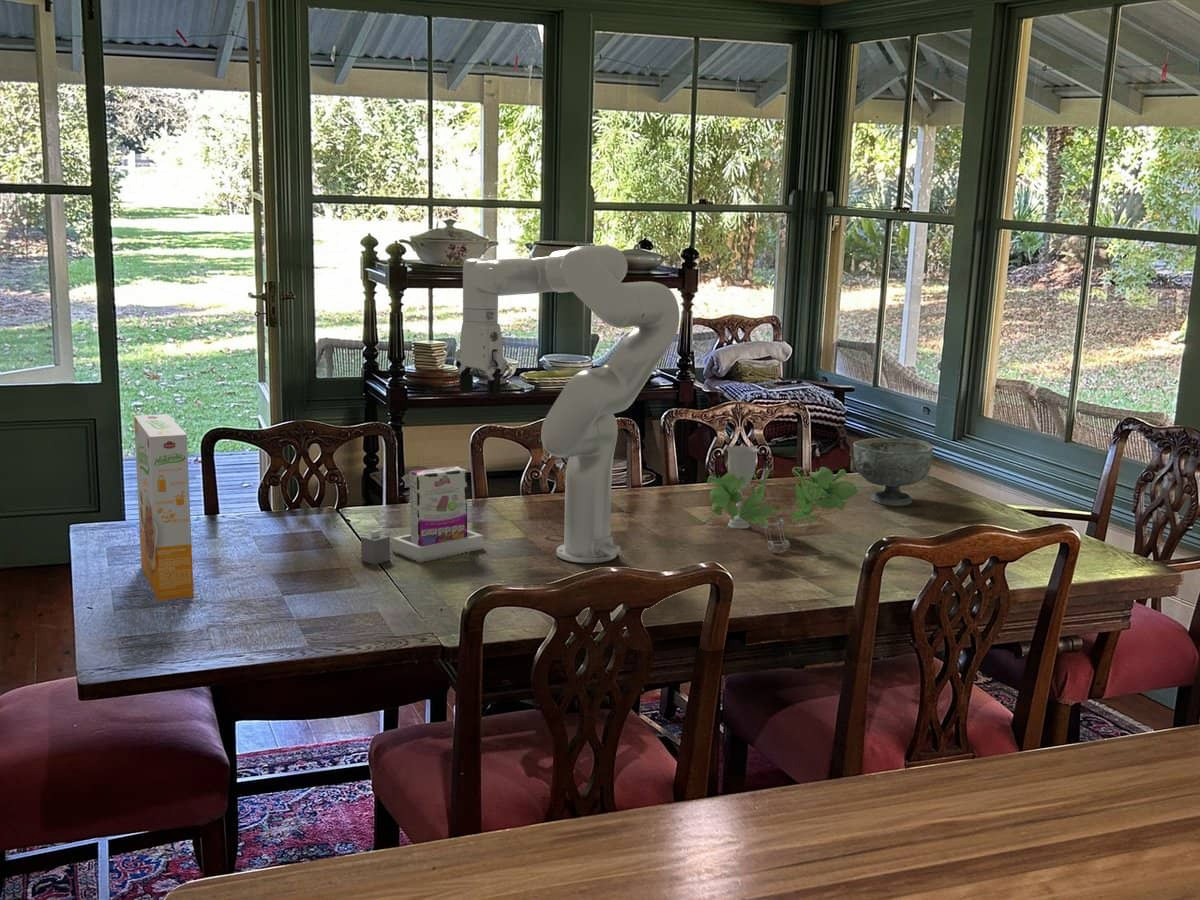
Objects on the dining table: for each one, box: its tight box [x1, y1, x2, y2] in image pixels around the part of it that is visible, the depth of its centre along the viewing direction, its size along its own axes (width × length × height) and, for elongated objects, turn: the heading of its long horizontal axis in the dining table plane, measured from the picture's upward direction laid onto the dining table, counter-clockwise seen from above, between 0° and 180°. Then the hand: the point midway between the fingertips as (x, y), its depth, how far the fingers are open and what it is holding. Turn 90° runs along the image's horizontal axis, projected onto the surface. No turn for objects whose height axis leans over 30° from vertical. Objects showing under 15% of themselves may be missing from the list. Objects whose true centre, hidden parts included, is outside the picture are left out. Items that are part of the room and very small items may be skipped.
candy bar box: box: [409, 465, 468, 546], centre depth 254 cm, size 11×5×16 cm, turn 121°
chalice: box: [726, 445, 759, 529], centre depth 280 cm, size 7×7×18 cm
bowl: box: [852, 437, 934, 507], centre depth 308 cm, size 20×19×15 cm
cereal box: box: [133, 413, 195, 601], centre depth 229 cm, size 22×6×30 cm, turn 27°
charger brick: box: [360, 529, 391, 565], centre depth 247 cm, size 4×4×6 cm
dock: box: [391, 529, 484, 563], centre depth 256 cm, size 10×16×3 cm, turn 133°
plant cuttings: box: [698, 466, 859, 553], centre depth 265 cm, size 35×17×22 cm
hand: (479, 394), depth 267 cm, fingers open, 9 cm apart
